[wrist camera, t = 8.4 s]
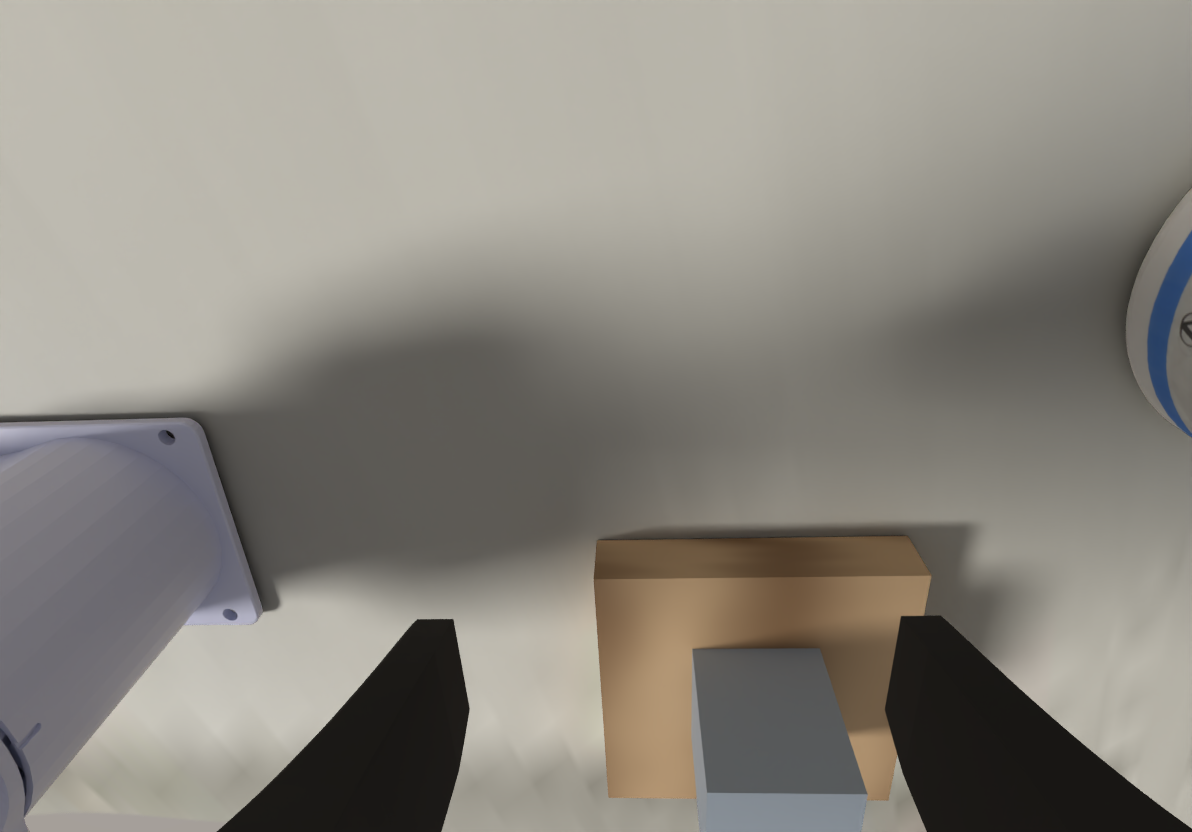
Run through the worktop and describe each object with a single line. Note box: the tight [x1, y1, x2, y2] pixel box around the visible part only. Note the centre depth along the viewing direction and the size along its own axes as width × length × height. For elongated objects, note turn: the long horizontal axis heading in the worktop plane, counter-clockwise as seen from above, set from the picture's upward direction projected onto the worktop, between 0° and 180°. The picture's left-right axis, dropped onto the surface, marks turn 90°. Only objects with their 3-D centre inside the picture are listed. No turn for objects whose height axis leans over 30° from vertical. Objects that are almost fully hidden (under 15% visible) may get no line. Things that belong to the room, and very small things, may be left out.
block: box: [691, 648, 868, 832], centre depth 21 cm, size 4×4×5 cm
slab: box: [594, 536, 931, 800], centre depth 24 cm, size 10×10×2 cm
